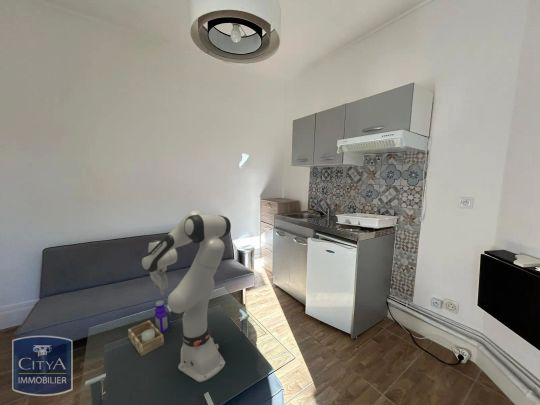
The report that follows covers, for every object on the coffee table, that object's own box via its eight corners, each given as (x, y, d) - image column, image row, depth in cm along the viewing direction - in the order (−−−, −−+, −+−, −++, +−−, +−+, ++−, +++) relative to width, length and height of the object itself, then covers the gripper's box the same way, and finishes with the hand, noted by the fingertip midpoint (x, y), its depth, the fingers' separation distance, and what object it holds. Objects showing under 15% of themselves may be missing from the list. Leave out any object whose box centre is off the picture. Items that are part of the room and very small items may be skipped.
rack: (164, 345, 122) (163, 335, 121) (141, 357, 114) (140, 346, 113) (150, 329, 135) (149, 320, 135) (129, 339, 127) (127, 329, 127)
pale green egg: (157, 344, 121) (156, 332, 121) (145, 351, 117) (143, 338, 116) (153, 339, 125) (151, 327, 125) (141, 345, 121) (139, 332, 120)
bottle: (169, 330, 134) (167, 301, 133) (159, 335, 130) (157, 306, 128) (164, 325, 139) (161, 298, 137) (154, 330, 135) (152, 301, 133)
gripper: (170, 271, 126) (171, 295, 127) (158, 261, 141) (159, 283, 142) (157, 274, 121) (159, 299, 123) (147, 264, 136) (148, 286, 138)
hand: (159, 291), depth 133 cm, fingers open, 8 cm apart
